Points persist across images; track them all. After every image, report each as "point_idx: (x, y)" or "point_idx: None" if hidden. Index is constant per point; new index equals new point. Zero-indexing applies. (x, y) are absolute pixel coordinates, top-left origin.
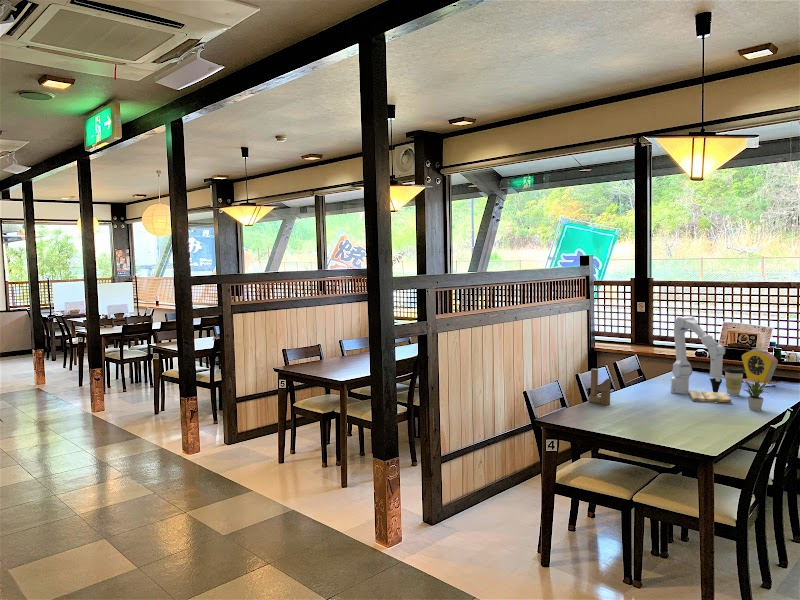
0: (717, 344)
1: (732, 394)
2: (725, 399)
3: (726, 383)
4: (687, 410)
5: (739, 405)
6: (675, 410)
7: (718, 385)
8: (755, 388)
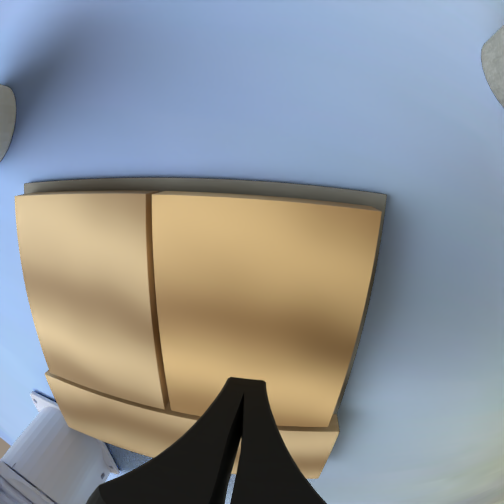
0: None
1: (6, 132)
2: (369, 276)
3: None
4: (491, 451)
5: (421, 139)
6: (477, 474)
7: (284, 469)
8: None
